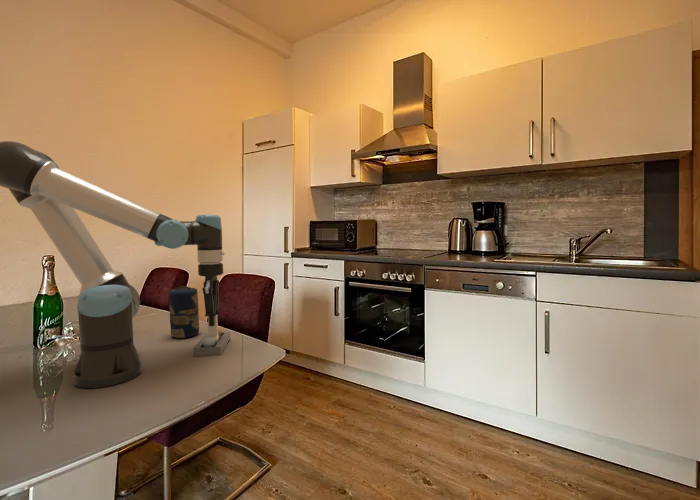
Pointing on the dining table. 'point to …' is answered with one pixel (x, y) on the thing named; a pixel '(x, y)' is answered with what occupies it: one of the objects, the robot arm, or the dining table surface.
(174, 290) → the canister
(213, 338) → the slate button
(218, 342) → the grey tray
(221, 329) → the terracotta button
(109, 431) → the dining table surface
